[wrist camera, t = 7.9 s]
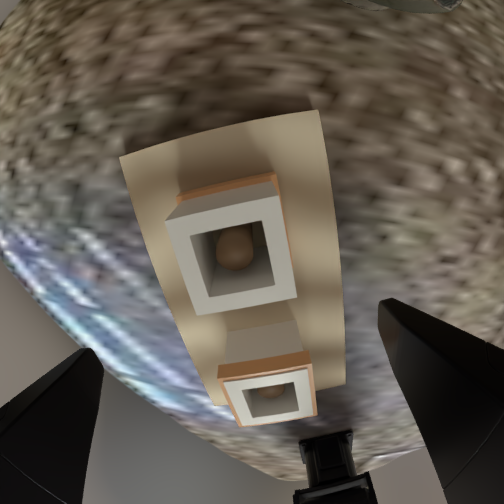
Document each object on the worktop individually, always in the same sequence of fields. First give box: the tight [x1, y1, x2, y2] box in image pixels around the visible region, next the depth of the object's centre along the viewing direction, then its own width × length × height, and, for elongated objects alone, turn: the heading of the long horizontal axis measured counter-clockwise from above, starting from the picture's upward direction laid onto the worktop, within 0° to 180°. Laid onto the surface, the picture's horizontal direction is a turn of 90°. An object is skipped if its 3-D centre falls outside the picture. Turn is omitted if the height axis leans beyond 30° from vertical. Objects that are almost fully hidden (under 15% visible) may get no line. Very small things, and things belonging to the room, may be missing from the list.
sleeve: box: [165, 171, 297, 316], centre depth 16 cm, size 6×6×5 cm
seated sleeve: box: [217, 320, 318, 427], centre depth 19 cm, size 6×6×5 cm
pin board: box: [119, 110, 346, 406], centre depth 19 cm, size 22×12×5 cm, turn 12°
